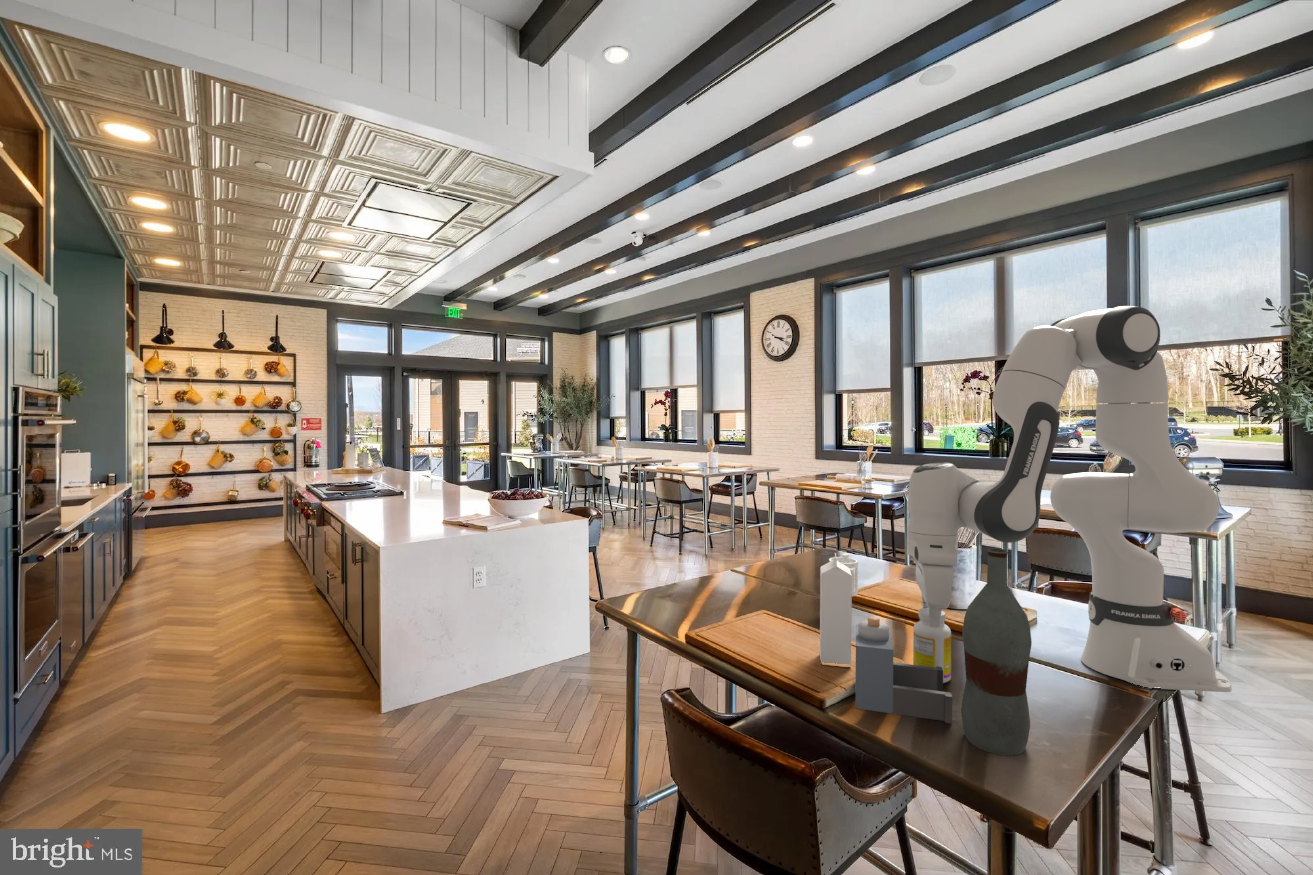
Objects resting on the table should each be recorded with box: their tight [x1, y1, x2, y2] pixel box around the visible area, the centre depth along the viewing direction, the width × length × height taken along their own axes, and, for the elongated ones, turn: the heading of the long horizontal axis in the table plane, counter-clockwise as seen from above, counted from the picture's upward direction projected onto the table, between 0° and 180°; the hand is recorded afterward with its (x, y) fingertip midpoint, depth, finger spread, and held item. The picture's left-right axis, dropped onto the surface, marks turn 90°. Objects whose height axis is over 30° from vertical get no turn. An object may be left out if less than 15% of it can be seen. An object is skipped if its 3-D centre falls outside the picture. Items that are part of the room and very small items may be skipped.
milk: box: [819, 552, 853, 665], centre depth 122 cm, size 6×6×22 cm
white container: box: [828, 553, 859, 597], centre depth 151 cm, size 7×7×15 cm
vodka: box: [960, 547, 1032, 757], centre depth 91 cm, size 9×9×30 cm
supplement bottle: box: [912, 608, 952, 684], centre depth 114 cm, size 7×7×13 cm
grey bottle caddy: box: [855, 616, 953, 725], centre depth 106 cm, size 15×15×14 cm
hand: (930, 618), depth 114 cm, fingers open, 8 cm apart
